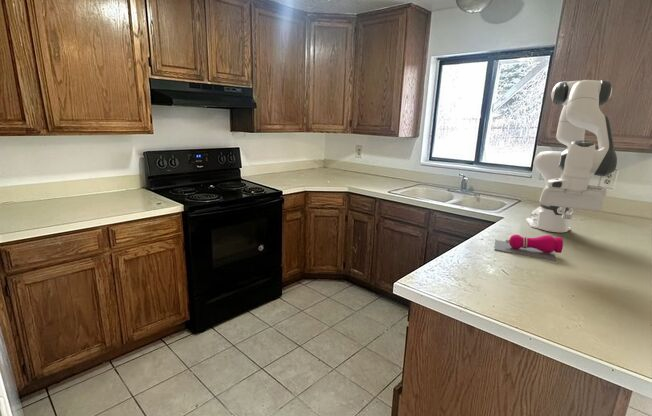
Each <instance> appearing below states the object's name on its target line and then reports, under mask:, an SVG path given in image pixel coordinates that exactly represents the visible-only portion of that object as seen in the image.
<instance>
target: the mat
mask: <svg viewBox="0 0 652 416" xmlns="http://www.w3.org/2000/svg"><path fill="white" fill-rule="evenodd" d="M494 251H496V252H502V253H507V254H513V255H520V256H524V257H529V258H536V259H541V260H545V261H552V262H557V257H556V254H555V251H553V252H551V253H545V252H542V251H540V250H538V249H535V248H526V249H525V248H522V247H521V248H519V249H514V248H512V247H511V246H510V243H506V242H505V240H504V241H503V240H498V239H495V243H494Z"/></svg>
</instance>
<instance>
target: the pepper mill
mask: <svg viewBox="0 0 652 416" xmlns="http://www.w3.org/2000/svg"><path fill="white" fill-rule="evenodd" d="M504 241H505V242H506V243H510V246H511V247H512V248H514V249H519V248H521V247H522V248H525V249H526V248H535V249H538V250H540V251H542V252H545V253H551V252H553V251H554V253H556V254H557V253H559V254H560V253H562V252H563V246H564V241H563V238H562V237H561V236H556V237H554V236H552V235H550V234H548V235H547V234H546V235H541V236H538V237H527V236H524V235H523V236H521V235H519V234H513V235H511V236H510V238H506V239H505V240H504Z"/></svg>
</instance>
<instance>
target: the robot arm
mask: <svg viewBox="0 0 652 416" xmlns="http://www.w3.org/2000/svg"><path fill="white" fill-rule="evenodd" d="M612 93H613V87H612V83H611V82H610V81H608V80H604V79H603V80H594V79H583V80H573V81H566V80H565V81H560V82H558V83H555V85H554V87H553V88H552V91H551V93H550V96H551V101H552V103H553V104H554V105H555V106H563V107H562V109H561V112H560V116H559V118H558V119H559V120H558V125H557V130H556V136H555V138H556V140H557V141H558V142H559V143H560V144H563V145H565V146H566V149H564V150H563V151H559V150H558V151H557V150H546V151H540V152H538V153H537V155H536V156H535V157H534V159H533V165H534V168H535V170H536V171H537V172H539V174H540V175H541V176H542V178H543V180H544V183H545V187H543V188H542V192H541V193H540V198H539V203H540V206H538V207H537V208H536V209H534V210H533V211H532V212H530V214H529V216H530V217H526V218H525V222H527V224H528V225H529V226H530V227H531V228H534V229H540V230H543V231H546V232H553V233H566V232H569V231H571V229H572V228H571V227H570V220H572V218H573V216H574V215H575V214H576V213H577V211H578V210H583V211H584V210H585V211H593V212H601V211H602V209H603V206H604V198H606V195H607V189H606V188H604V187H603V186H600V185H599V186H596V185H589V184H590V179H591V175H592V176H593V175H594V176H596V177H597V176H598V177H606V176H609V175H611V174H612V173H614V172H615V170H616V169H617V166H618V157H617V153H616V149H615V146H614V140H613V133H612V129H611V123H610V119H609V118H608V115H606V114H604V113H603V112H602V111H601V108H600V106H603V105H604V104H606V103H607V102H608V101H609V100H610V98H611V97H612ZM586 131H588V132H590V133H593V134H594V135H595V136H596V139H597V145H598V146H597V147H598V149H596V143H594V142H592V141H589V140H585V136H586ZM570 209H571V212H570V213H569V211H570Z"/></svg>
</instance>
